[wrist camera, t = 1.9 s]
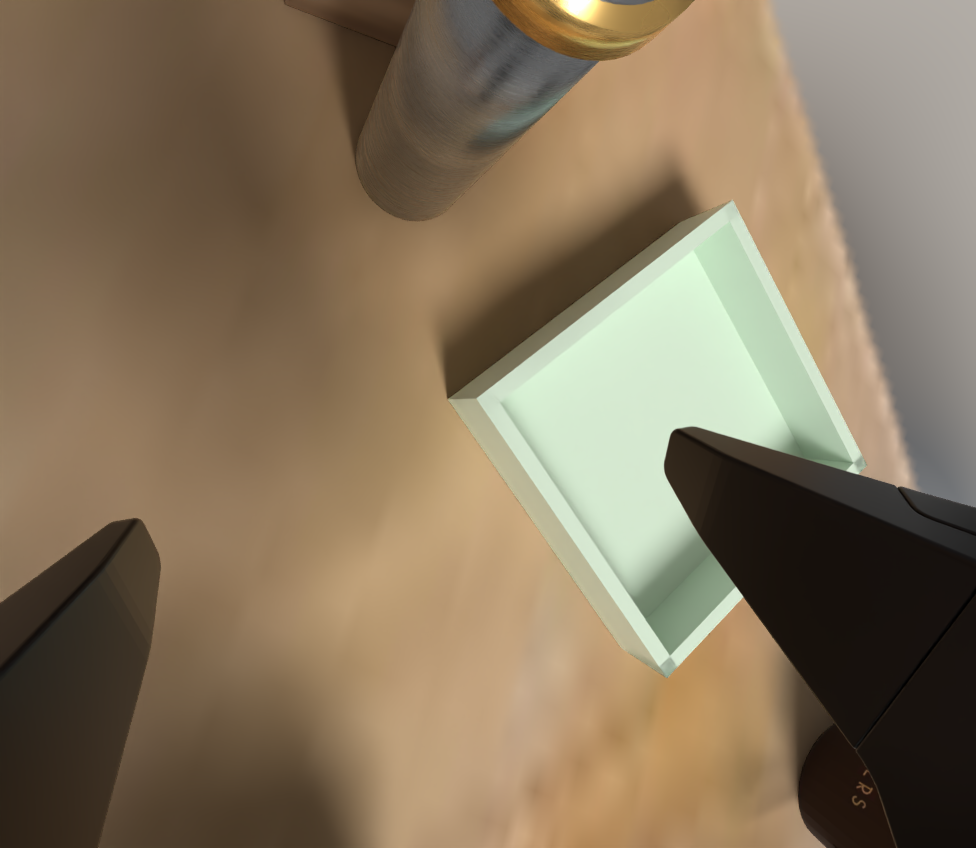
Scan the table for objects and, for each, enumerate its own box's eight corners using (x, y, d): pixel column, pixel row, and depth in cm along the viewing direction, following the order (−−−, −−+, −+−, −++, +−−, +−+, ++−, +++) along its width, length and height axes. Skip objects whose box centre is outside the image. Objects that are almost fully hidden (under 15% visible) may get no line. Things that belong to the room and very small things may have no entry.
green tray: (807, 459, 30) (866, 465, 27) (620, 647, 26) (666, 678, 23) (680, 222, 27) (732, 199, 24) (447, 399, 23) (476, 398, 20)
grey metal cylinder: (495, 191, 23) (760, -36, 11) (397, 256, 22) (576, 78, 10) (424, 74, 22) (633, -319, 10) (315, 135, 21) (407, -233, 9)
